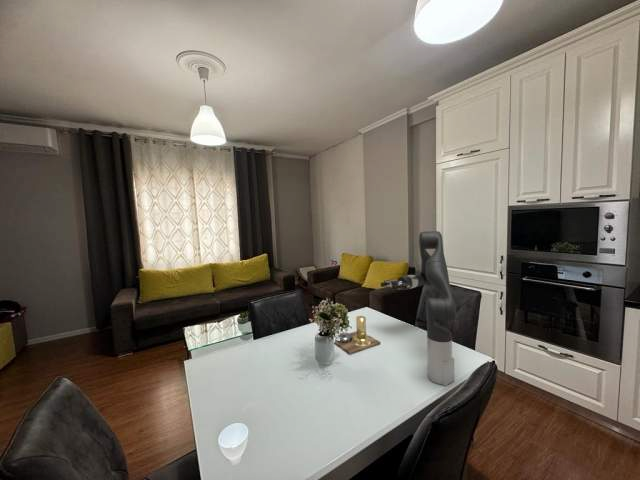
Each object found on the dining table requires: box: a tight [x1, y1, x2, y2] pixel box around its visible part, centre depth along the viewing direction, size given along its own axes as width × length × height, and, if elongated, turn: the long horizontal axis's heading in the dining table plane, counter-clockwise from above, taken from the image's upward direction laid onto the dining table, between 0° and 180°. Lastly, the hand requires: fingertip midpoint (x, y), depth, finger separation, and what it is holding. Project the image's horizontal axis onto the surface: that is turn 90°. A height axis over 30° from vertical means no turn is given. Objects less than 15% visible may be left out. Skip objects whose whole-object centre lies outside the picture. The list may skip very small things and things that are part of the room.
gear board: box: [334, 330, 381, 356], centre depth 140 cm, size 18×20×1 cm
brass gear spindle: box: [352, 315, 371, 346], centre depth 138 cm, size 10×10×13 cm
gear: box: [338, 331, 353, 344], centre depth 141 cm, size 10×9×4 cm
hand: (386, 286), depth 139 cm, fingers open, 8 cm apart
